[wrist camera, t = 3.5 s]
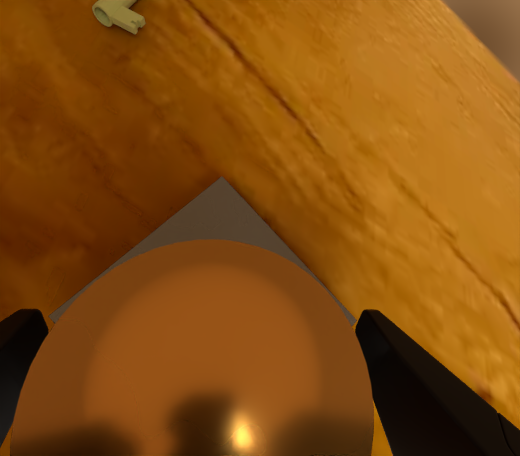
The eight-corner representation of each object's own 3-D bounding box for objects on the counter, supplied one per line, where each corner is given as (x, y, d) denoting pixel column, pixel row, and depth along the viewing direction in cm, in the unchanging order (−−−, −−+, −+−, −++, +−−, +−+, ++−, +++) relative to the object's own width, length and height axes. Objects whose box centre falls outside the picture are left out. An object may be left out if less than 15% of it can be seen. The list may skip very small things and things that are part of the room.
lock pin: (261, 315, 16) (434, 405, 3) (211, 366, 15) (189, 753, 2) (216, 267, 16) (221, 178, 4) (164, 314, 15) (-79, 421, 3)
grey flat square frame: (340, 317, 16) (356, 320, 15) (205, 468, 14) (203, 497, 12) (221, 189, 17) (222, 176, 15) (70, 312, 15) (48, 316, 13)
